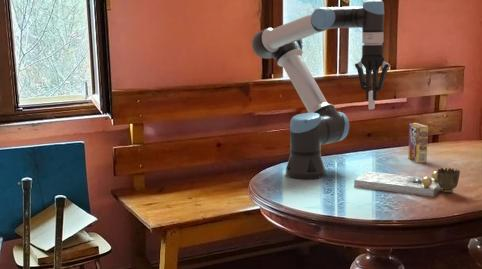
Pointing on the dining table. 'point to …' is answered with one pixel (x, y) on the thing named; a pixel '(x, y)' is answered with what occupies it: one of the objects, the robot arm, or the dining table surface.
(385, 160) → the dining table surface
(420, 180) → the steel ball
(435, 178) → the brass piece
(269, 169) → the dining table surface
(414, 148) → the candy box
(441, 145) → the dining table surface
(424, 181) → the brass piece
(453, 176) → the olive brown rounded bowl
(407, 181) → the plate
